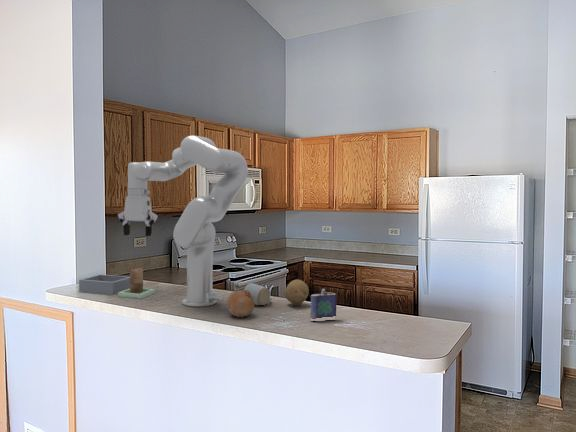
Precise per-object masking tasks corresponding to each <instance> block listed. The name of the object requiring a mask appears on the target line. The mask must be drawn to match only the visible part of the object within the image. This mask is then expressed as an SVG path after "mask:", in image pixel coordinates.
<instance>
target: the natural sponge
mask: <svg viewBox="0 0 576 432" xmlns="http://www.w3.org/2000/svg"><path fill="white" fill-rule="evenodd" d="M309 291H310V289H309V286H308V285H307V283H306V282H305V281H303V280H301V279H294V280H291V281H290V282H289V283H288V284H287V285H286V287H285V291H284V296H285V299H286V300H287V301H288V302H290V303H291V304H292V305H293V304H294V306H296V305H298V306H300V305H302V304H303V303H304V302H305V301H306V300H307V298H308V296H309V294H310V293H309ZM299 304H300V305H299Z"/></svg>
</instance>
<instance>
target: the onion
mask: <svg viewBox="0 0 576 432" xmlns="http://www.w3.org/2000/svg"><path fill="white" fill-rule="evenodd" d="M226 306H227V307H226V308H227V309H228V312H229V313H230V314H231V315H232V317H235V316H238V318H239V317H241V318H245V317H244V316H246V317H248V316H250V315H251V314H252V312H253V311H254V310H255V306H256V305H255V302H254V299H253V297H252V295H251V294H250V292H249V291H247V290H244V289H243V290H235V291H233V292H231V293H230V294H229V296H228V297H227V301H226Z"/></svg>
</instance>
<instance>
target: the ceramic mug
mask: <svg viewBox="0 0 576 432" xmlns="http://www.w3.org/2000/svg"><path fill="white" fill-rule="evenodd" d="M243 290H247V291H249V292H250V294H251V295H252V297H253V299H254V302H255V305H254V306H258V305H264V306H265V304H266V305H267V304H268V303H272V300H273V298H272V297H271V292H270V289H268V288H267V287H265V286H264V285H259V284H257V283H253V282H251V283H248V284H247V285H246V286H245V287H244V289H243ZM268 301H269V302H268Z"/></svg>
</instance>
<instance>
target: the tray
mask: <svg viewBox="0 0 576 432" xmlns="http://www.w3.org/2000/svg"><path fill="white" fill-rule="evenodd" d="M154 294H155V289H154V288H146V287H145V288H144V287H143V293H140V294H137V293H130V289H127V290H124V291H121V292H118V293H117V297H118V298H122V299H123V298H125V299H136V300H142V299H145V298H147V297H149V296H152V295H154Z"/></svg>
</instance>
